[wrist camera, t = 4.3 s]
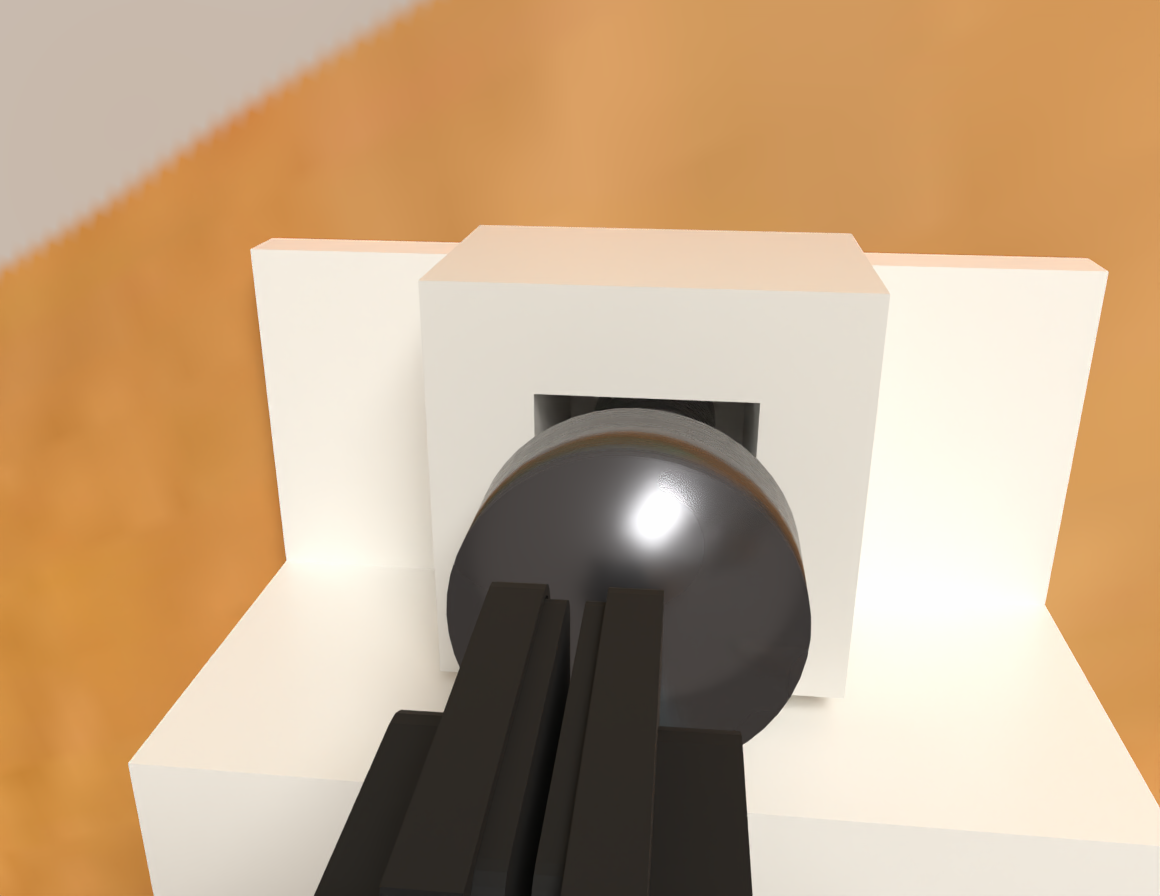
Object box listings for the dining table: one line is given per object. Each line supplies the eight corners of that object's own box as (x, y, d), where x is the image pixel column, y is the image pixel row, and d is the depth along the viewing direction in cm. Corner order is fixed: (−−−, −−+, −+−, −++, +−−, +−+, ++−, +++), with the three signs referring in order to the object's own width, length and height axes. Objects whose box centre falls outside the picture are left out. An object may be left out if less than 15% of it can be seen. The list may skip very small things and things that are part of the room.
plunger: (533, 297, 17) (437, 448, 11) (785, 305, 17) (827, 466, 11) (537, 521, 19) (453, 761, 13) (768, 533, 18) (796, 788, 12)
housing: (269, 209, 19) (39, 310, 12) (1093, 227, 17) (1318, 352, 11) (358, 1037, 27) (245, 1364, 20) (934, 1099, 25) (1011, 1473, 19)
